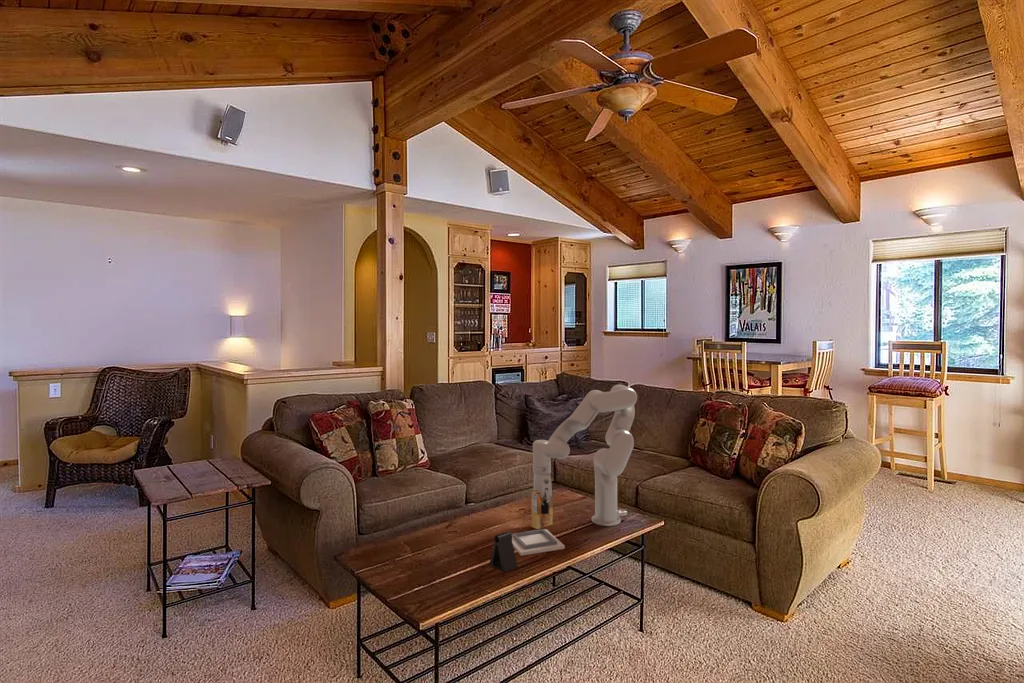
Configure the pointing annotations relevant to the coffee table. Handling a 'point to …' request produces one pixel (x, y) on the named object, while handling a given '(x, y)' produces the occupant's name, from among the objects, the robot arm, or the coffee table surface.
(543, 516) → the candy box
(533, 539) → the tile
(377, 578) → the coffee table surface
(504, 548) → the phone stand
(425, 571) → the coffee table surface
